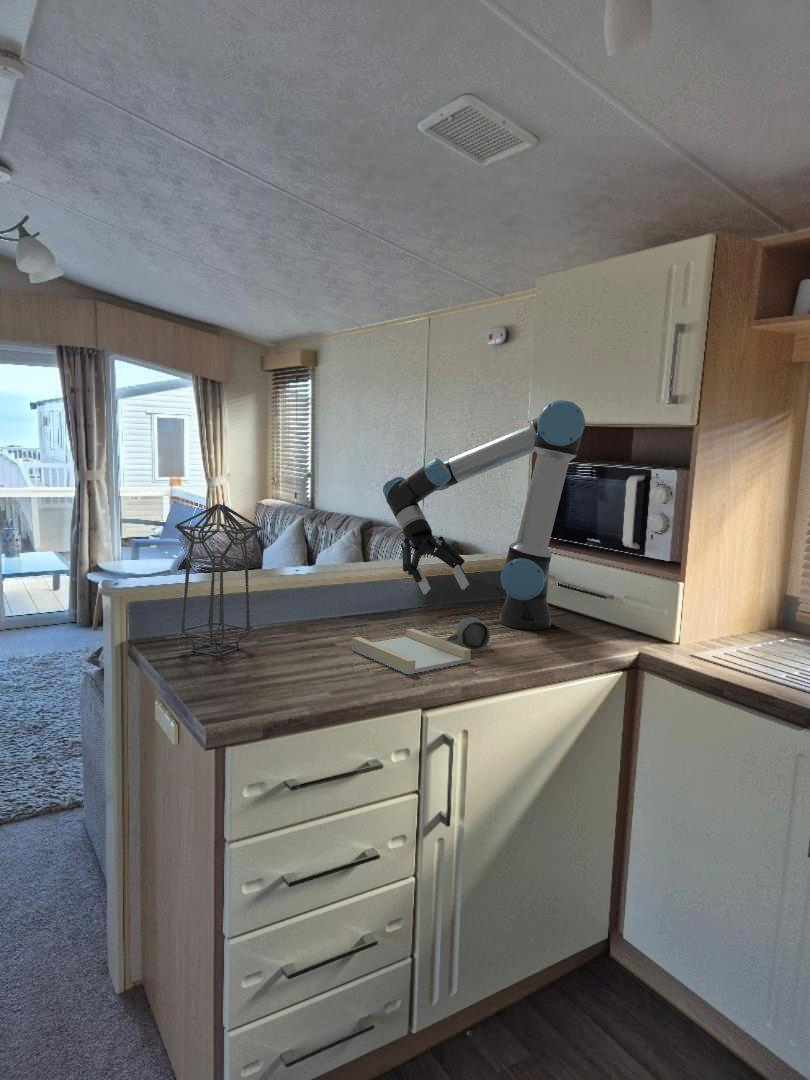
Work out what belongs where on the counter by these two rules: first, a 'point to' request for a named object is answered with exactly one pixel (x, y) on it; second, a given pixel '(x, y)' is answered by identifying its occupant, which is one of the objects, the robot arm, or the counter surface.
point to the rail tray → (413, 652)
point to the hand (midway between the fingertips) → (446, 589)
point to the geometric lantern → (227, 532)
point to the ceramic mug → (471, 634)
